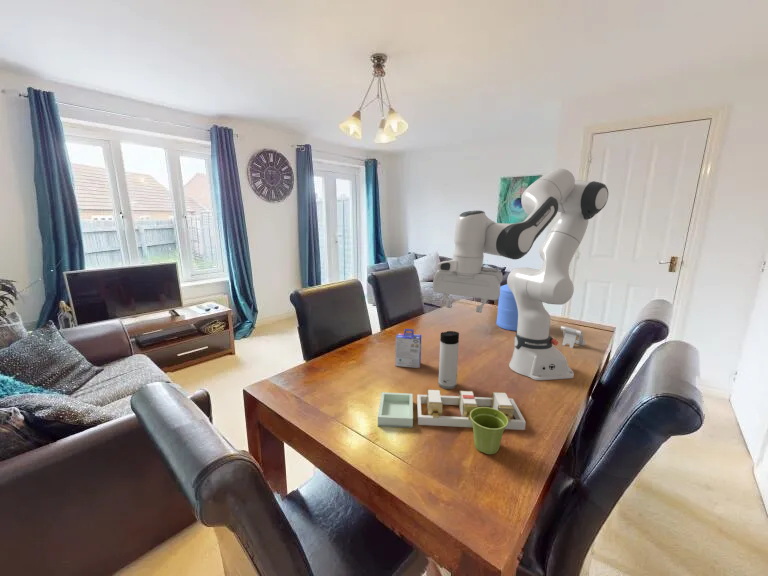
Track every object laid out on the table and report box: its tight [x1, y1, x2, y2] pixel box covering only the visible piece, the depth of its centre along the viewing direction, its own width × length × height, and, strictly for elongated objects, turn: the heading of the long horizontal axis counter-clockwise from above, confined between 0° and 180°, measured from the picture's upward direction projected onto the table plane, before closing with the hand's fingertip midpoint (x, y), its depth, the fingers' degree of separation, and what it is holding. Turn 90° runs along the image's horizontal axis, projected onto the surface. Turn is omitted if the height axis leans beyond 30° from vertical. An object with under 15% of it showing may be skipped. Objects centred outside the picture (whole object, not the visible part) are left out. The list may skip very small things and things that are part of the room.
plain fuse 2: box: [490, 391, 514, 419], centre depth 97 cm, size 4×8×6 cm, turn 175°
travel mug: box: [437, 330, 460, 390], centre depth 113 cm, size 6×7×20 cm
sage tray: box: [377, 391, 414, 429], centre depth 99 cm, size 10×13×3 cm
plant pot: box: [470, 406, 508, 455], centre depth 84 cm, size 9×9×9 cm
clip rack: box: [416, 394, 526, 431], centre depth 98 cm, size 30×12×3 cm, turn 86°
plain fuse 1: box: [426, 388, 443, 416], centre depth 98 cm, size 4×8×6 cm, turn 176°
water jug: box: [495, 283, 518, 332], centre depth 171 cm, size 16×16×28 cm
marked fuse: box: [458, 390, 479, 417], centre depth 98 cm, size 4×8×6 cm, turn 175°
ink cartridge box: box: [394, 328, 422, 369], centre depth 129 cm, size 10×6×14 cm, turn 78°
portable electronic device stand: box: [560, 325, 586, 349], centre depth 149 cm, size 9×8×8 cm
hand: (463, 309), depth 101 cm, fingers open, 8 cm apart
